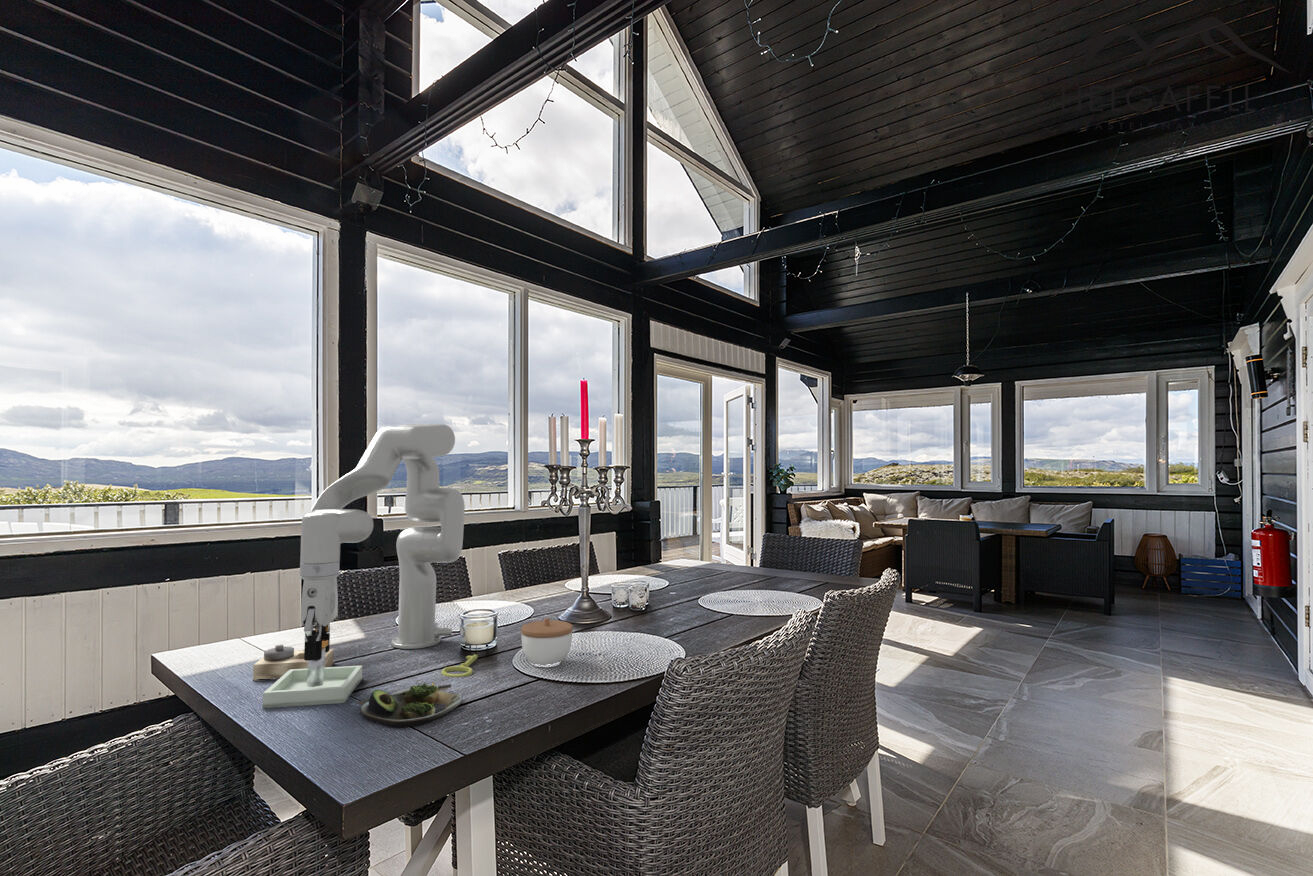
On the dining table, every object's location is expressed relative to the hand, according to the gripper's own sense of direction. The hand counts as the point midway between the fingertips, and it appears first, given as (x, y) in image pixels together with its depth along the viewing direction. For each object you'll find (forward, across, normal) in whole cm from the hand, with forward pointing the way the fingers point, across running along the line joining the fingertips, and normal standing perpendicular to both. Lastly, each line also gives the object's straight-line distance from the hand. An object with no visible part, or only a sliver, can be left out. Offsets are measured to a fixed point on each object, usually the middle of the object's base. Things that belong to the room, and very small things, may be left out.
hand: (317, 655), depth 134 cm
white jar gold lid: (+6, 0, 0) cm, 6 cm away
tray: (+8, 0, 0) cm, 8 cm away
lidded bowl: (+8, +11, -49) cm, 51 cm away
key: (+9, +10, -29) cm, 32 cm away
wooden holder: (+8, +16, +9) cm, 20 cm away
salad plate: (+8, -14, -21) cm, 27 cm away
